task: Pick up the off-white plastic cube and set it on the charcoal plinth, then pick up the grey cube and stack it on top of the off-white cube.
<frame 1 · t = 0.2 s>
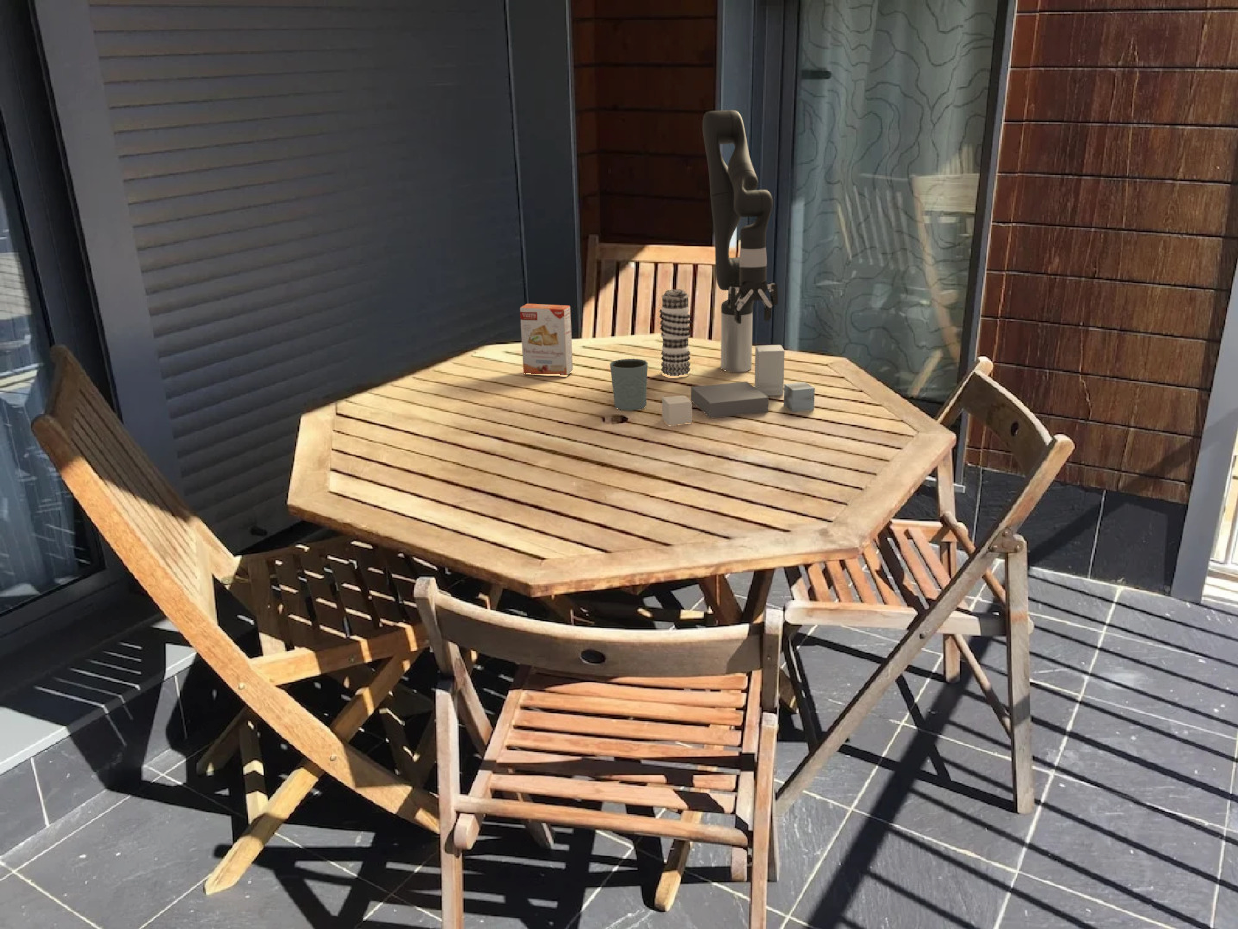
hand: (752, 321, 294), 17 cm above the table, tool pointing down, fingers open, 8 cm apart
grey cube: (798, 407, 275), on the table
white cube: (676, 422, 266), on the table
plinth: (728, 406, 277), on the table
cracker box: (548, 375, 312), on the table
green cup: (629, 406, 280), on the table
supplement box: (768, 392, 289), on the table
decorative candle: (675, 375, 308), on the table
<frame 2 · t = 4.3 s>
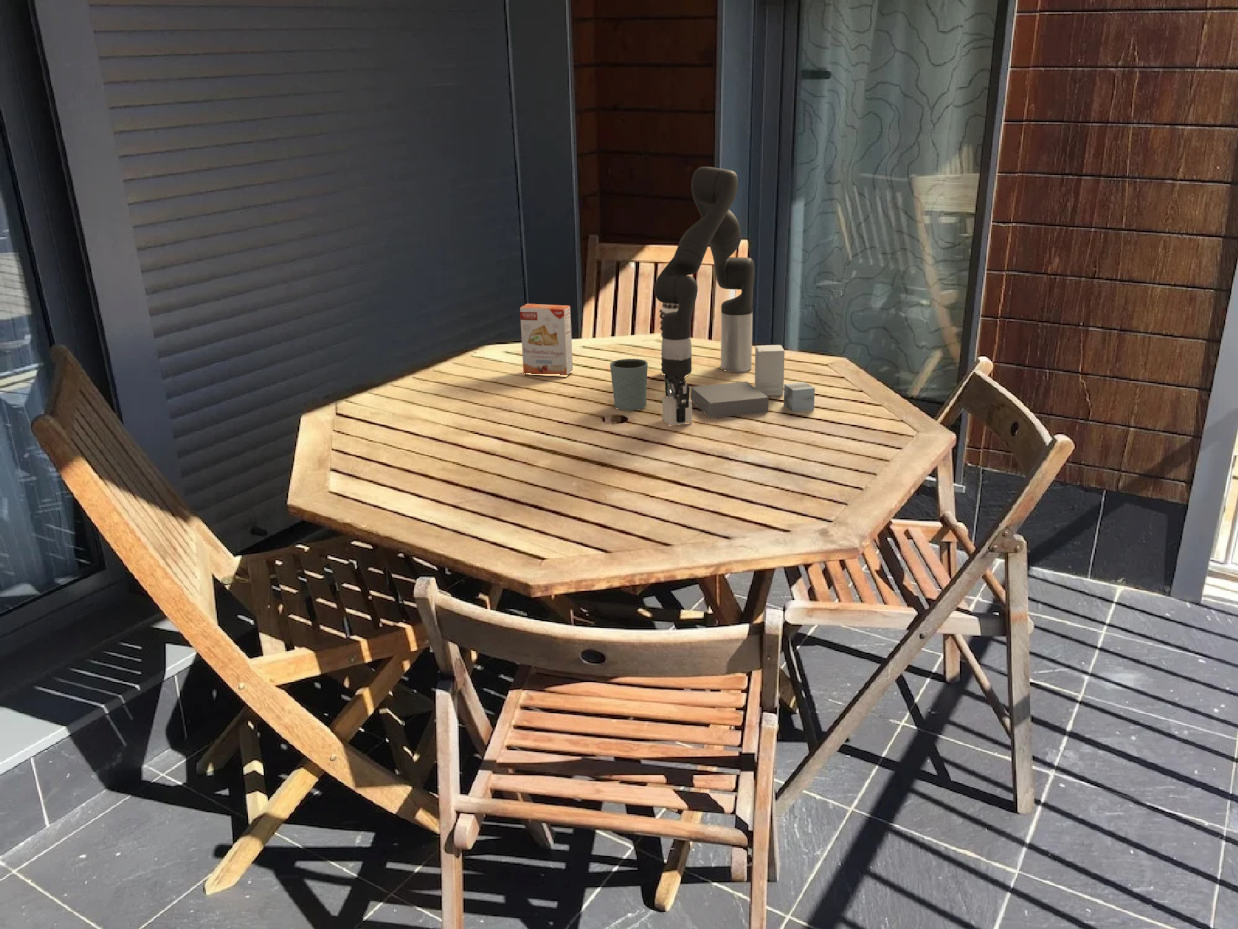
hand: (677, 418, 266), 1 cm above the table, tool pointing down, fingers closed on white cube, 6 cm apart
white cube: (677, 421, 266), on the table, touching gripper
everything else where it was.
when the fingers open (6 cm above the table, at t = 9.8 s): white cube drops 1 cm, resting on plinth.
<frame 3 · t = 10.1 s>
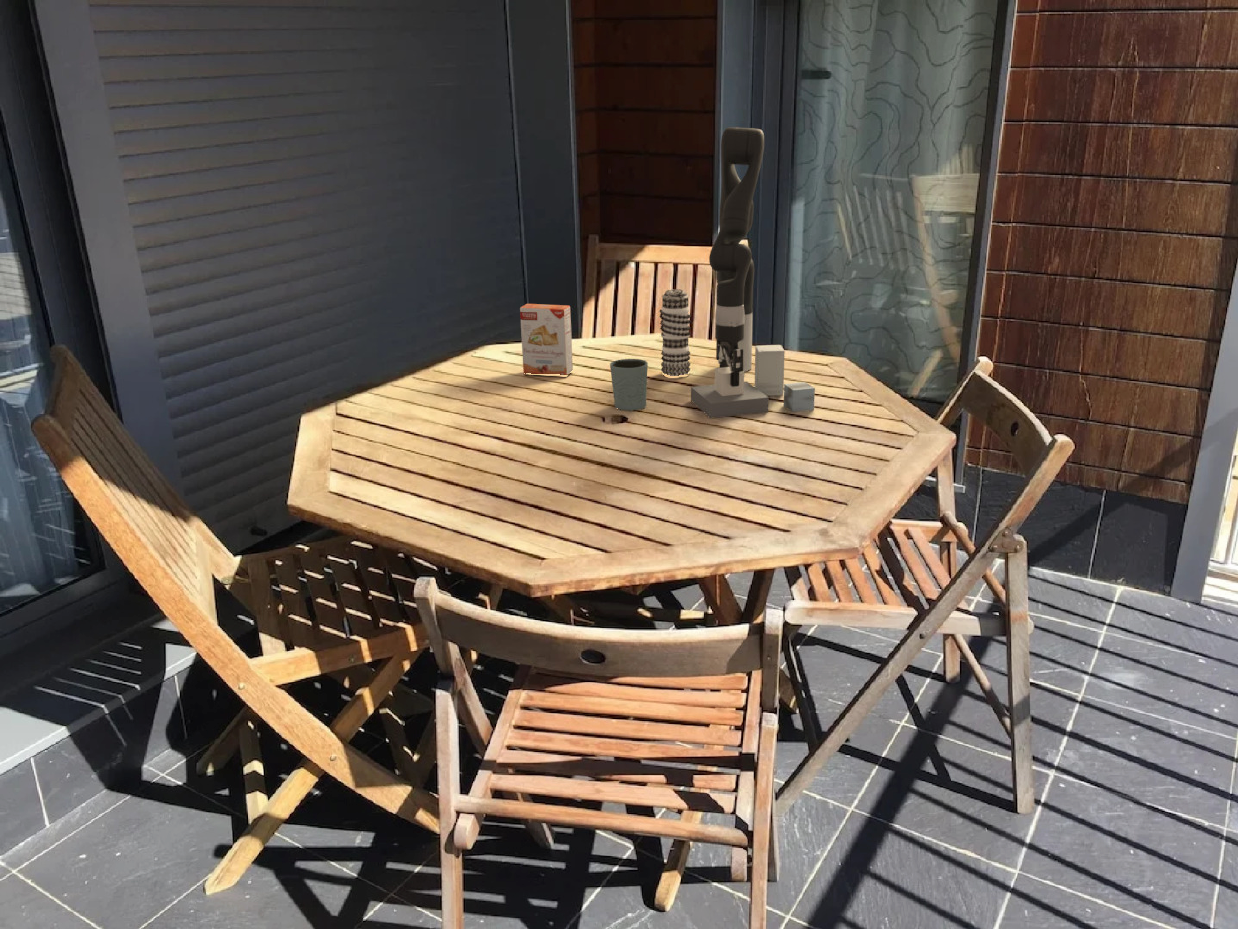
hand: (729, 381, 275), 7 cm above the table, tool pointing down, fingers open, 8 cm apart
white cube: (729, 391, 276), point 4 cm above the table, touching plinth
everything else where it was.
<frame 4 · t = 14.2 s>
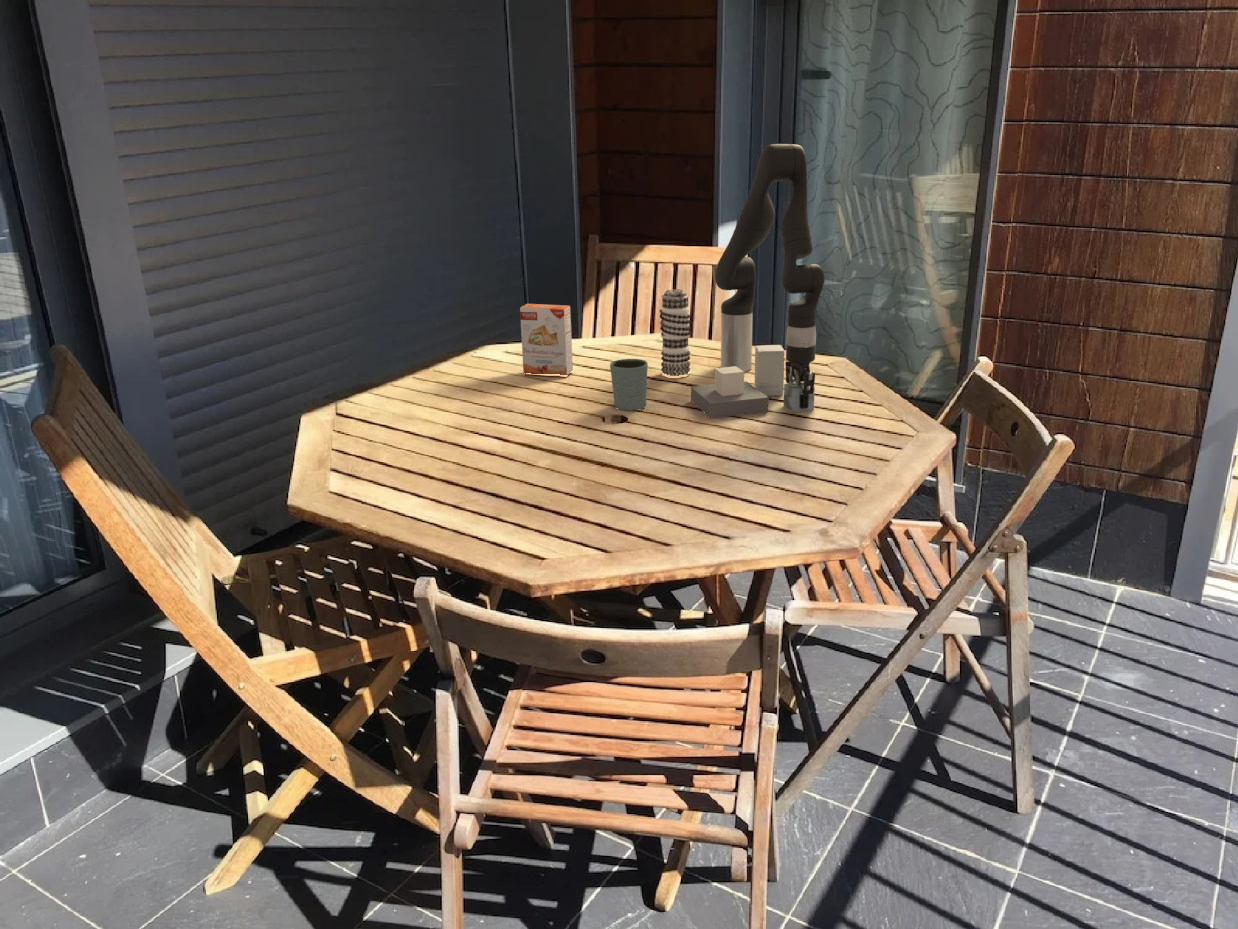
hand: (798, 404, 274), 1 cm above the table, tool pointing down, fingers closed on grey cube, 6 cm apart
grey cube: (798, 407, 275), on the table, touching gripper
everything else where it was.
when the fingers open (12 cm above the table, at t = 19.1 s): grey cube drops 1 cm, resting on white cube.
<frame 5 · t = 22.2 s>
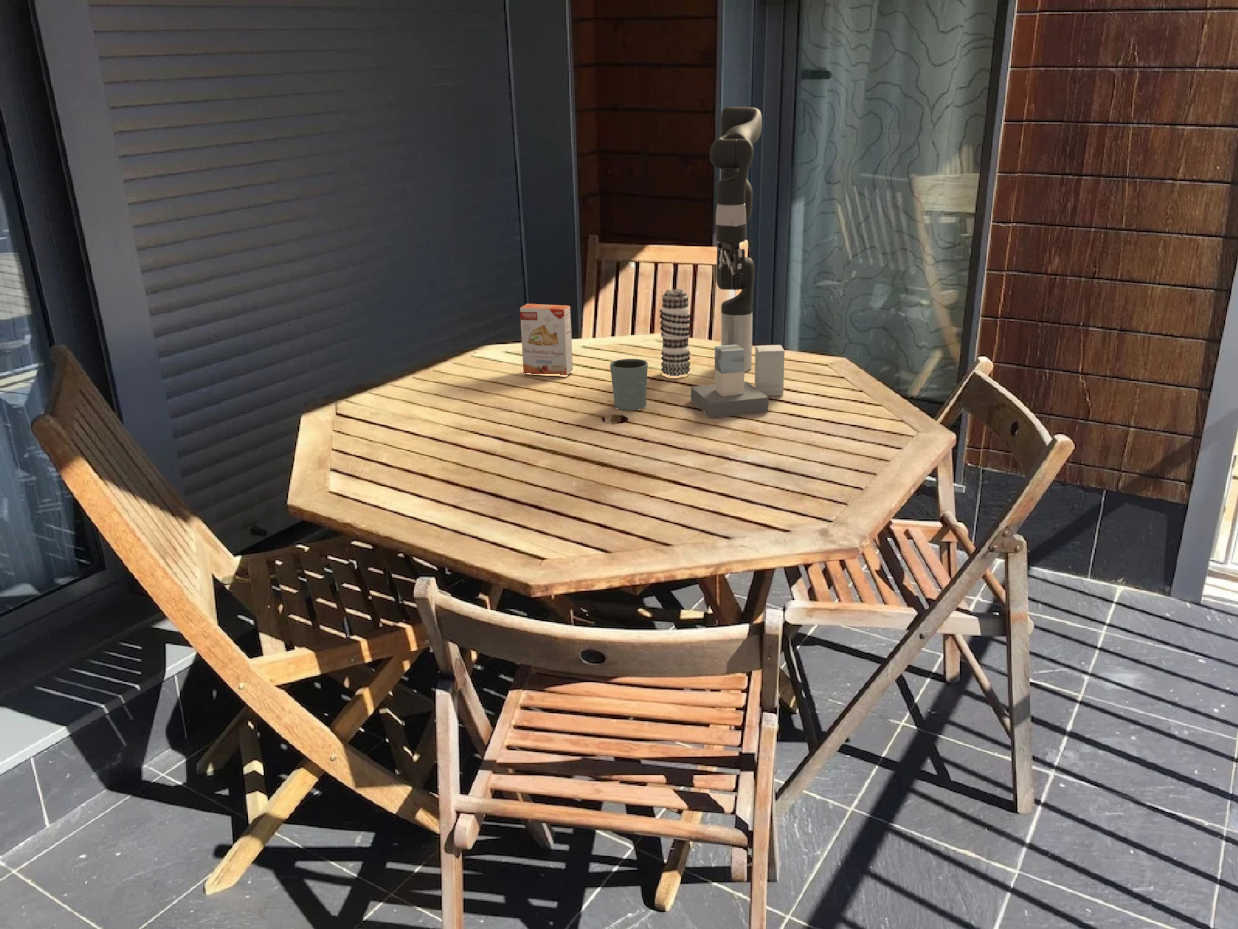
hand: (730, 286, 266), 32 cm above the table, tool pointing down, fingers open, 8 cm apart
grey cube: (729, 370, 274), point 10 cm above the table, touching white cube
white cube: (729, 391, 276), point 4 cm above the table, touching grey cube, plinth
everything else where it was.
at the end: white cube inside the target area on the plinth (0.1 cm from its centre), point 4.0 cm above the plinth's base; grey cube inside the target area on the plinth (0.1 cm from its centre), point 10.0 cm above the plinth's base; grey cube tilted 0° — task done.
